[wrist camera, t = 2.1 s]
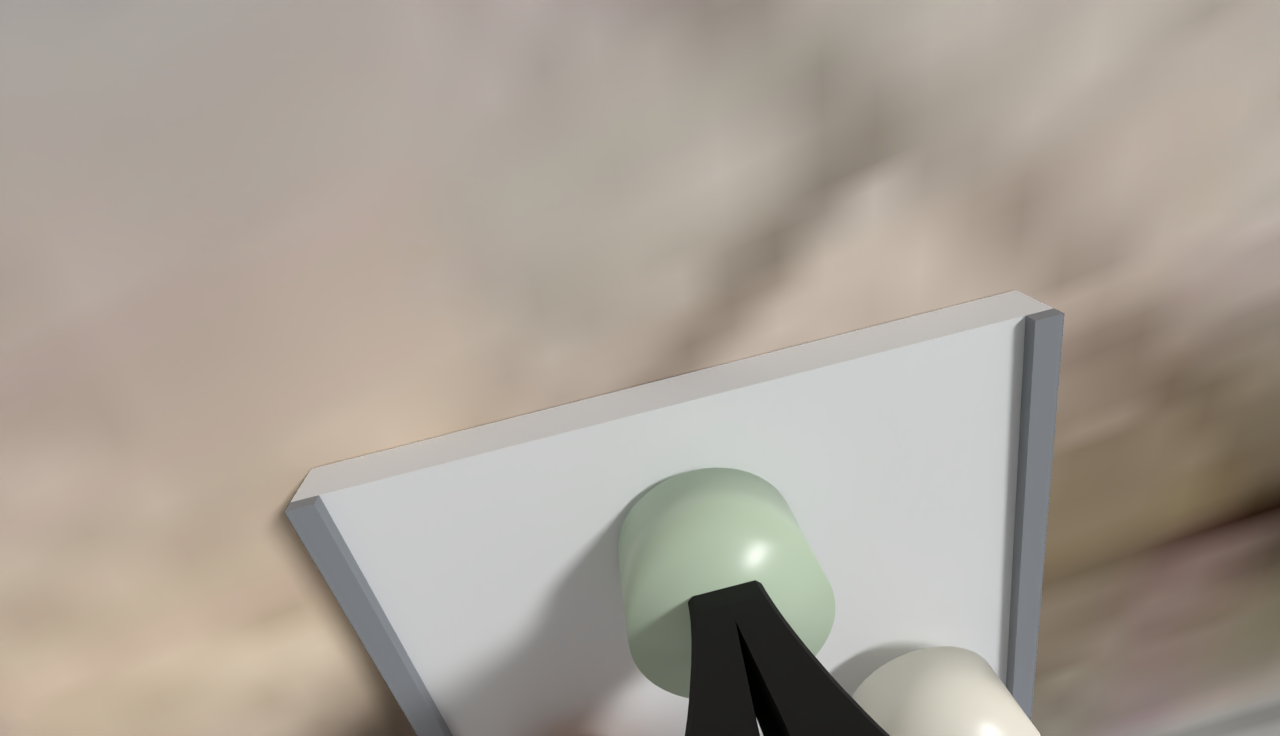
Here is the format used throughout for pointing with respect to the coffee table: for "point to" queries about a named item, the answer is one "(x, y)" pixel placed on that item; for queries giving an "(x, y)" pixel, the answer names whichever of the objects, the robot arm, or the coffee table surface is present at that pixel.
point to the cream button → (941, 696)
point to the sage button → (712, 565)
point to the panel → (690, 440)
